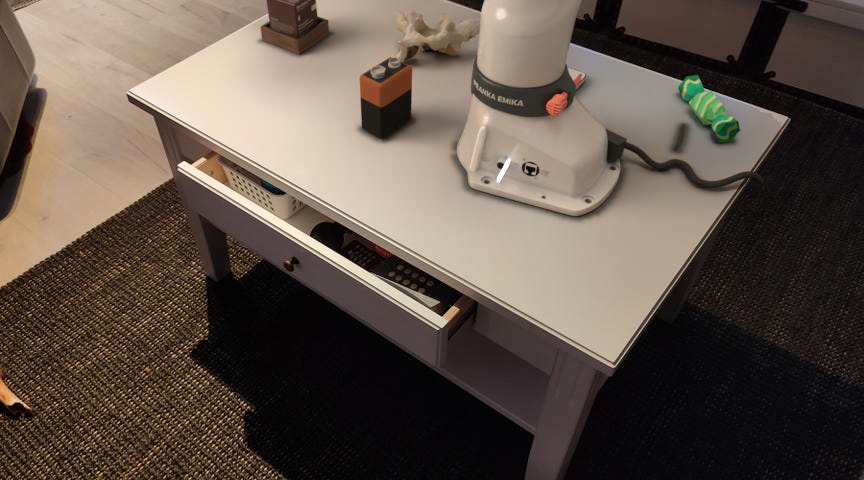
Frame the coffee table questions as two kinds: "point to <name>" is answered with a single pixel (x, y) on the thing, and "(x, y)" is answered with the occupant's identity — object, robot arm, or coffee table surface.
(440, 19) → the decorative object
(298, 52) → the tray
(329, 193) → the coffee table surface
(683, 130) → the stick
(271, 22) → the box
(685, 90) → the candy
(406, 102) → the battery
